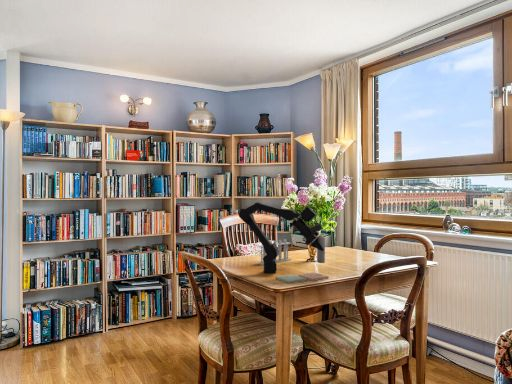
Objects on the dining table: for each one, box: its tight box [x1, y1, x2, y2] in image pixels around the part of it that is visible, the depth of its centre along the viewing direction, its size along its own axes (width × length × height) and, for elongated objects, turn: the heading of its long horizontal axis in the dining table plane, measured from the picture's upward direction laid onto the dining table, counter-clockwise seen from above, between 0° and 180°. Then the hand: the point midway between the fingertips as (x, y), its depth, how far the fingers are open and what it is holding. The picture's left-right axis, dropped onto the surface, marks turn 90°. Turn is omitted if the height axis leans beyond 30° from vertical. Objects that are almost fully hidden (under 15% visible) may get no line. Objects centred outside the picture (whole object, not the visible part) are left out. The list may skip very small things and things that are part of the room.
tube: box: [316, 234, 326, 264], centre depth 209 cm, size 4×4×14 cm
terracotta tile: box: [297, 271, 330, 282], centre depth 204 cm, size 11×11×1 cm
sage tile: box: [275, 274, 307, 284], centre depth 199 cm, size 11×11×1 cm
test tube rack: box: [257, 239, 292, 266], centre depth 246 cm, size 25×4×13 cm, turn 131°
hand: (323, 249), depth 208 cm, fingers closed on tube, 4 cm apart
